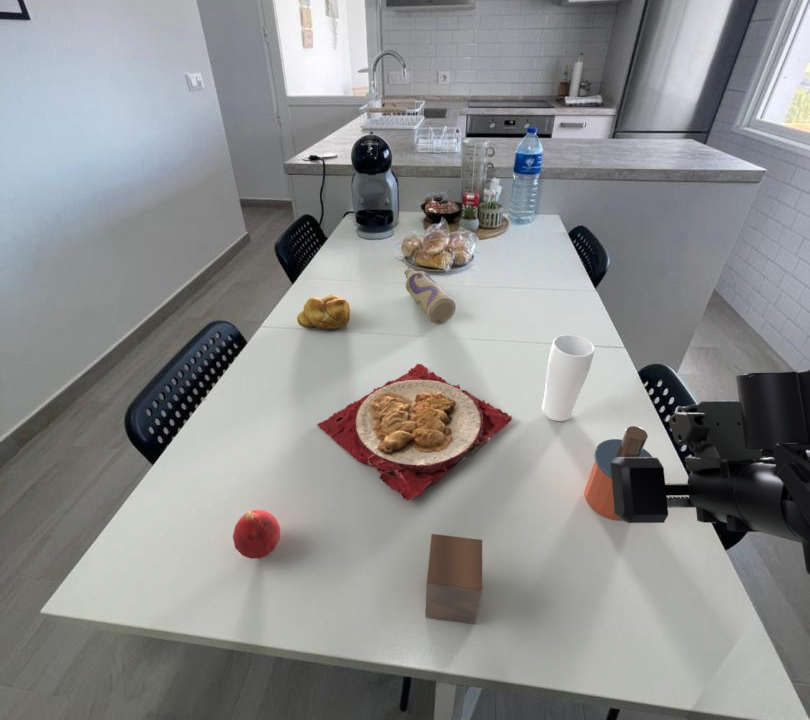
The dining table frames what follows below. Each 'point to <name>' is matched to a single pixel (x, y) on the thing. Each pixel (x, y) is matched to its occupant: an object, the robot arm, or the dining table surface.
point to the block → (454, 579)
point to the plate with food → (414, 429)
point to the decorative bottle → (429, 296)
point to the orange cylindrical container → (600, 493)
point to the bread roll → (325, 313)
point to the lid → (621, 448)
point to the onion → (256, 534)
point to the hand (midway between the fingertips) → (663, 480)
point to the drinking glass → (566, 375)
